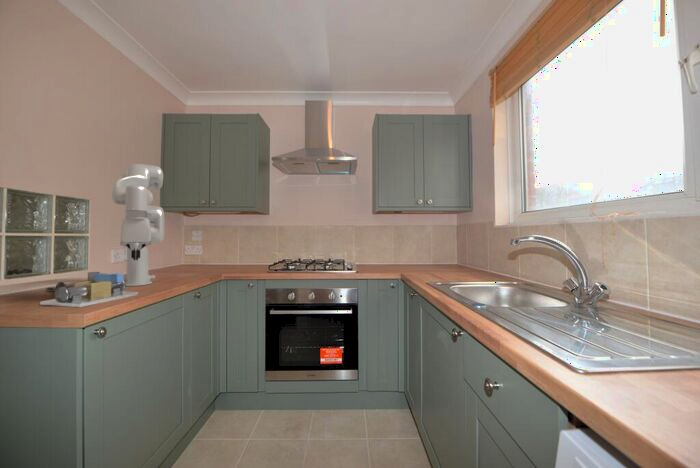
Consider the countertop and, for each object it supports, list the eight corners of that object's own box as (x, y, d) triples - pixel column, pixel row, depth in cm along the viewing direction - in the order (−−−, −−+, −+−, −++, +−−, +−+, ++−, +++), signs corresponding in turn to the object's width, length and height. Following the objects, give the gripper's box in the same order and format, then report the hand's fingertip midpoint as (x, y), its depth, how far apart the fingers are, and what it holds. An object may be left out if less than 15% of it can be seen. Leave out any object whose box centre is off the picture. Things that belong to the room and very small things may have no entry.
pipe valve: (103, 293, 135) (104, 276, 136) (137, 294, 132) (138, 277, 132) (40, 304, 112) (40, 284, 112) (79, 307, 109) (80, 286, 109)
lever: (85, 281, 121) (85, 272, 121) (94, 280, 124) (94, 271, 124) (116, 282, 118) (116, 273, 118) (124, 281, 121) (124, 272, 122)
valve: (105, 296, 138) (65, 297, 125) (73, 294, 148) (32, 295, 134) (107, 282, 139) (67, 282, 126) (75, 281, 149) (35, 281, 136)
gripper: (157, 217, 132) (156, 259, 131) (114, 215, 123) (113, 260, 123) (158, 215, 126) (157, 259, 125) (112, 214, 117) (111, 261, 117)
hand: (135, 259), depth 124 cm, fingers closed
